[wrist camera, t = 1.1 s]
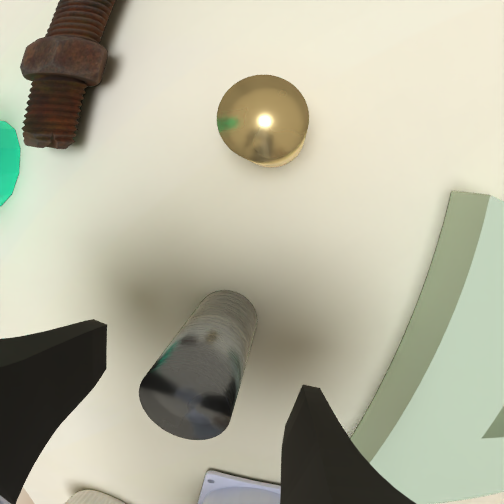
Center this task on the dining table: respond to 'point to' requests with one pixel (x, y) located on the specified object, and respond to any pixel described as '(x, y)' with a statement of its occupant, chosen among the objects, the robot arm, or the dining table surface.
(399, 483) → the collar plate
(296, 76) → the dining table surface
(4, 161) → the candle
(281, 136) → the short pin
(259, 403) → the dining table surface
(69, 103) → the bolt
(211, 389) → the tall pin
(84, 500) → the ramekin
